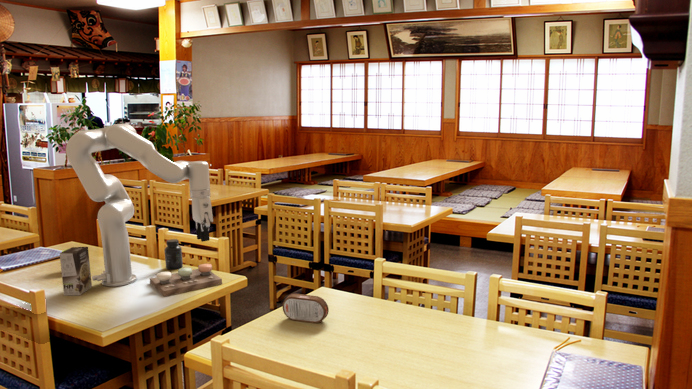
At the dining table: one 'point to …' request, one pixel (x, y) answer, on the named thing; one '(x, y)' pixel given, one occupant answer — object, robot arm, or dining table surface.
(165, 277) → the cream button
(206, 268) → the terracotta button
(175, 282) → the button panel
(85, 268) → the coffee box
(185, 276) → the sage button
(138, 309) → the dining table surface
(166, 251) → the supplement bottle
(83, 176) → the robot arm
